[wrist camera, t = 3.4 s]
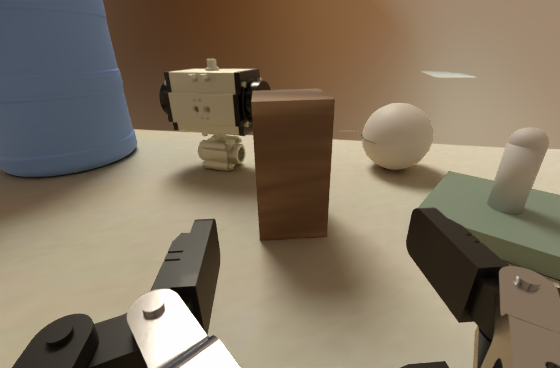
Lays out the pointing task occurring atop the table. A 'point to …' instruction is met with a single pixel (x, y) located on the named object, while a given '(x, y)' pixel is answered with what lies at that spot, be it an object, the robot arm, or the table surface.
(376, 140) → the seamed sphere
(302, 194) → the brown wooden block
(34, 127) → the water jug
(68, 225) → the table surface
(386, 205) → the table surface
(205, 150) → the pneumatic valve
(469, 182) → the stub base
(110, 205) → the table surface
